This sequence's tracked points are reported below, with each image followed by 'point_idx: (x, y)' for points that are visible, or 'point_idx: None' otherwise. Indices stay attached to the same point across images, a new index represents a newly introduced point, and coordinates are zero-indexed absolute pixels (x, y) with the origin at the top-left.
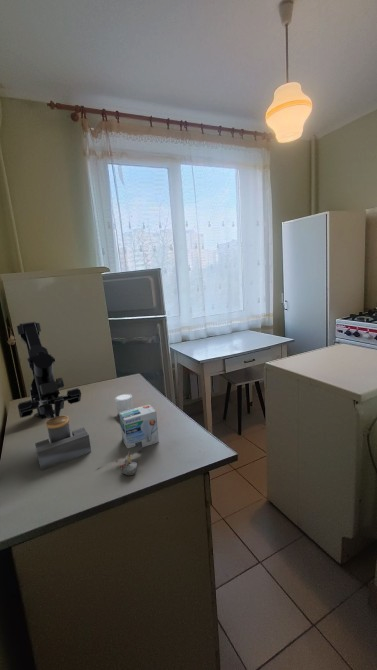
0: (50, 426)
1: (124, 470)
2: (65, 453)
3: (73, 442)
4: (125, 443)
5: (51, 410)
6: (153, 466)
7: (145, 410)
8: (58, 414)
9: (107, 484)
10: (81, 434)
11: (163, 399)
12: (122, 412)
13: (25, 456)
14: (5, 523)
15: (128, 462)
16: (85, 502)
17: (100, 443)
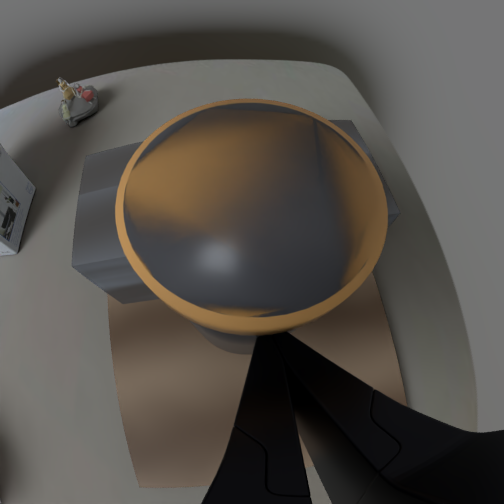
0: (316, 119)
1: (94, 89)
2: None
3: None
4: (19, 190)
5: (382, 463)
6: (42, 119)
7: None
8: (245, 415)
9: (141, 92)
10: (112, 173)
11: None
12: None
13: (417, 371)
14: (355, 87)
15: (74, 90)
16: (200, 69)
17: (72, 304)
